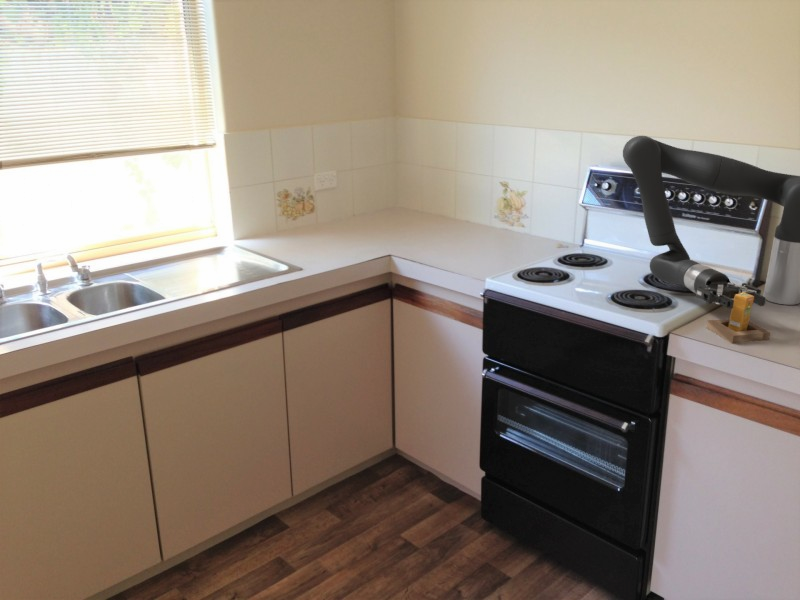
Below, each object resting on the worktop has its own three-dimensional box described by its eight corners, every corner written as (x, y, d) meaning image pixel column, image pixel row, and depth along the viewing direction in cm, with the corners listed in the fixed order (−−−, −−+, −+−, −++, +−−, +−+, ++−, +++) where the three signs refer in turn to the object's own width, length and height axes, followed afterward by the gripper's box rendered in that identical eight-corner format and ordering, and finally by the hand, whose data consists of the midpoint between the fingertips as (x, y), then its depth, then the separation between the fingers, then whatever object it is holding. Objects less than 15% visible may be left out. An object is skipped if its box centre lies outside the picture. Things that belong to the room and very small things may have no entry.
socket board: (741, 324, 182) (742, 317, 181) (769, 340, 173) (770, 332, 172) (706, 327, 180) (707, 320, 179) (732, 343, 171) (733, 335, 170)
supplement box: (739, 337, 174) (746, 298, 171) (726, 332, 177) (733, 294, 173) (747, 334, 176) (754, 295, 173) (734, 330, 179) (741, 291, 175)
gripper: (683, 269, 184) (724, 290, 169) (732, 266, 187) (777, 286, 172) (679, 298, 186) (719, 320, 171) (728, 294, 189) (771, 316, 174)
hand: (748, 303), depth 172 cm, fingers open, 8 cm apart
